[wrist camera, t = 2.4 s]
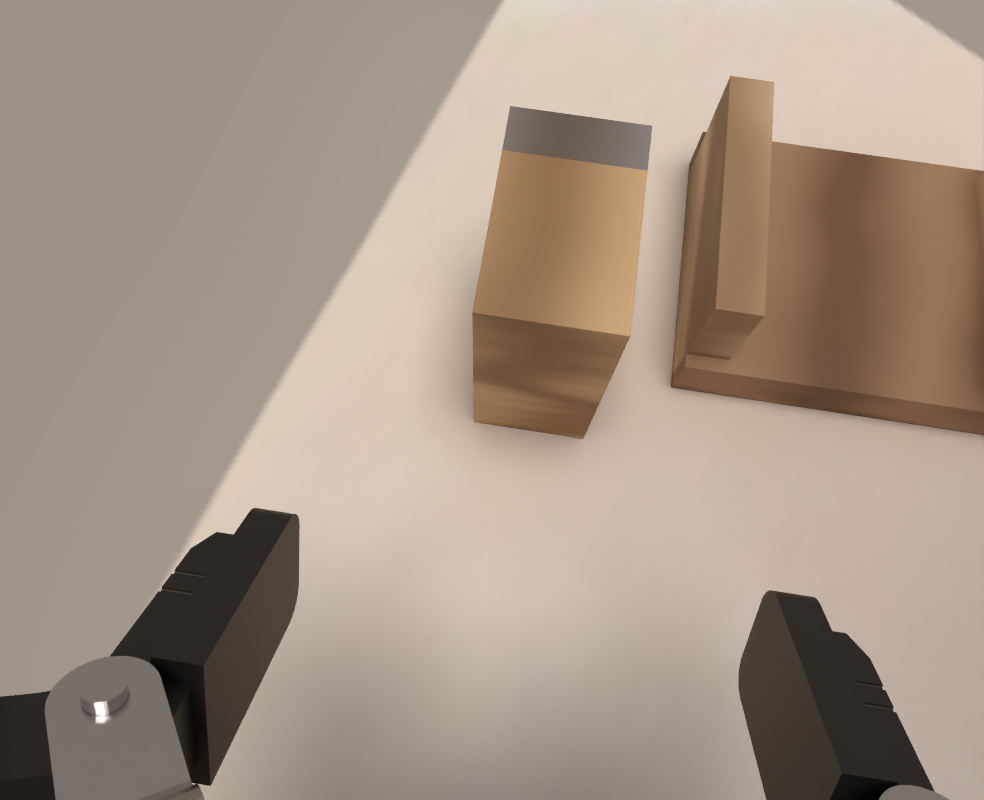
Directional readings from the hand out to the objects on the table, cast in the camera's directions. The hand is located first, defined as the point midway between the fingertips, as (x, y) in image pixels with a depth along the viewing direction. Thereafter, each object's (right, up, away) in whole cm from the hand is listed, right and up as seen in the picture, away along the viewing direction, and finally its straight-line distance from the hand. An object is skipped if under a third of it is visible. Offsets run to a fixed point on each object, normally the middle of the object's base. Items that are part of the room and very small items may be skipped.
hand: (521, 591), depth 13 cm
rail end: (+1, +4, +15) cm, 16 cm away
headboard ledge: (+13, +7, +17) cm, 22 cm away
